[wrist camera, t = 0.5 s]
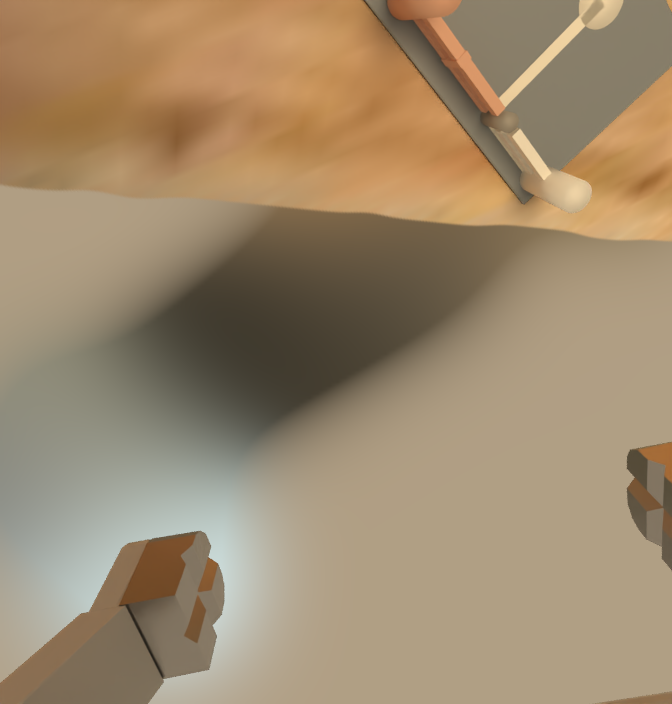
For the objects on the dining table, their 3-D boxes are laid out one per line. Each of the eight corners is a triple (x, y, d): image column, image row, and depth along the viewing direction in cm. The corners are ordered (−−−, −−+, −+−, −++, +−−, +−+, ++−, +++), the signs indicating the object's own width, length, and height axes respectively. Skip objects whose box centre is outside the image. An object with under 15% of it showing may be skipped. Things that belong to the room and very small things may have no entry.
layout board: (540, -268, 39) (543, -271, 39) (685, 50, 53) (688, 50, 53) (344, -26, 45) (345, -26, 45) (522, 203, 59) (524, 204, 59)
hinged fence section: (406, -33, 45) (446, -48, 36) (495, 94, 52) (547, 106, 43) (379, -1, 46) (413, -10, 37) (471, 119, 52) (517, 135, 44)
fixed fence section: (495, 97, 52) (538, 106, 45) (551, 176, 58) (597, 195, 50) (471, 122, 53) (509, 135, 46) (529, 197, 58) (570, 219, 51)
